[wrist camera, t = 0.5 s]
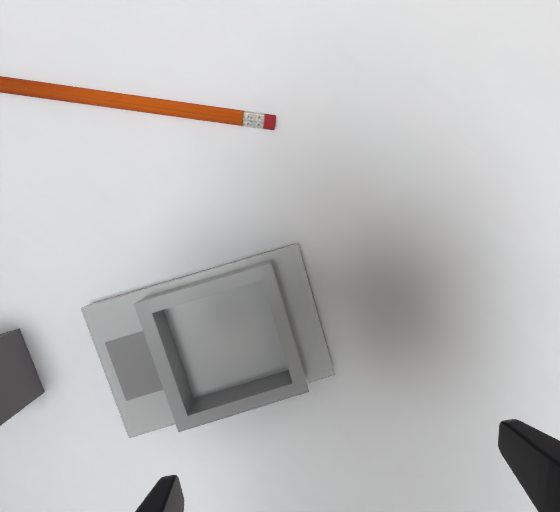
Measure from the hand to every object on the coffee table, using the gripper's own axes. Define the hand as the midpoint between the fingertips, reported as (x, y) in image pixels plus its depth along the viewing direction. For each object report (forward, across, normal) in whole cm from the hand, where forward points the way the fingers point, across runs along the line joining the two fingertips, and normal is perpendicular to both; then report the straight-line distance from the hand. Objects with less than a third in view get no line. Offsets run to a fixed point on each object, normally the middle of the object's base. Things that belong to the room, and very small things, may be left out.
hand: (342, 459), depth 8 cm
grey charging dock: (+12, +6, +2) cm, 14 cm away
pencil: (+15, +9, -13) cm, 22 cm away
